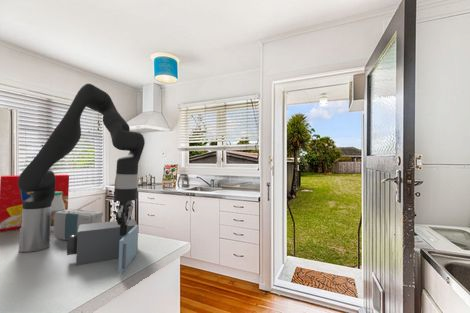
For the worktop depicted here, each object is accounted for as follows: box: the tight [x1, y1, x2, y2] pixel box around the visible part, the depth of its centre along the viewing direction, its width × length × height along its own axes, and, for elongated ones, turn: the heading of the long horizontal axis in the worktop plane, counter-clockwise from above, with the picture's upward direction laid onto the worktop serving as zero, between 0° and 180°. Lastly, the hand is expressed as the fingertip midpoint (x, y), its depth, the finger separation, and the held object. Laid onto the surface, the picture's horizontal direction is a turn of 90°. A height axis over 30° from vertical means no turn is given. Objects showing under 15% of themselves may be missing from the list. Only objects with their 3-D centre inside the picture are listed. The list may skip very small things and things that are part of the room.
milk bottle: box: [50, 191, 65, 232], centre depth 119 cm, size 8×8×20 cm
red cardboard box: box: [0, 174, 70, 233], centre depth 125 cm, size 28×8×28 cm, turn 134°
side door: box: [117, 224, 139, 276], centre depth 82 cm, size 17×2×11 cm, turn 7°
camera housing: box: [66, 218, 138, 266], centre depth 89 cm, size 23×10×13 cm, turn 121°
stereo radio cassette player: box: [53, 197, 104, 241], centre depth 106 cm, size 21×8×20 cm, turn 76°
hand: (123, 235), depth 80 cm, fingers closed
